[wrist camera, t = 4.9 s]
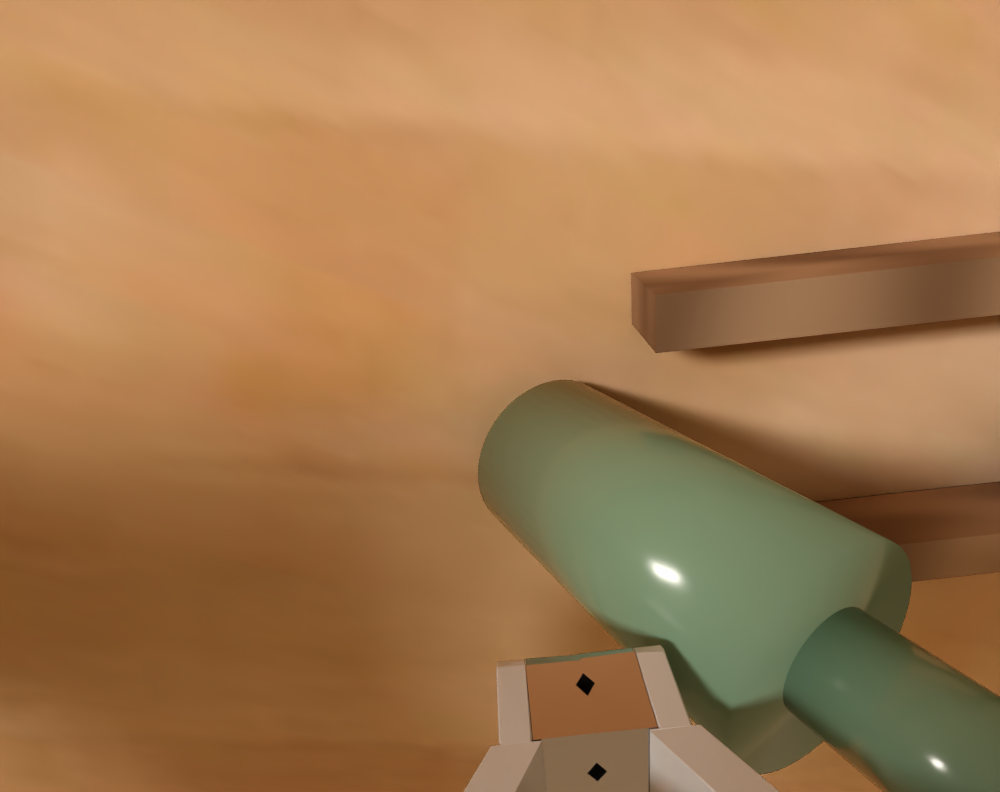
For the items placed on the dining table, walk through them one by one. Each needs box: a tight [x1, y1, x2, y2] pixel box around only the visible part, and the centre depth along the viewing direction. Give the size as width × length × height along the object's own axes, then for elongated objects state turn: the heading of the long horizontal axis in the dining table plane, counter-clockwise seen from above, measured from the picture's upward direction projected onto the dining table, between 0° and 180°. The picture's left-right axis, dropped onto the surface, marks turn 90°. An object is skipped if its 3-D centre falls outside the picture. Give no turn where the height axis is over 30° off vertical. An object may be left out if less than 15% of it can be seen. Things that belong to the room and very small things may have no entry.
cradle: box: [631, 232, 1000, 582], centre depth 17 cm, size 14×10×4 cm
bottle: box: [478, 380, 1000, 792], centre depth 13 cm, size 5×5×12 cm
